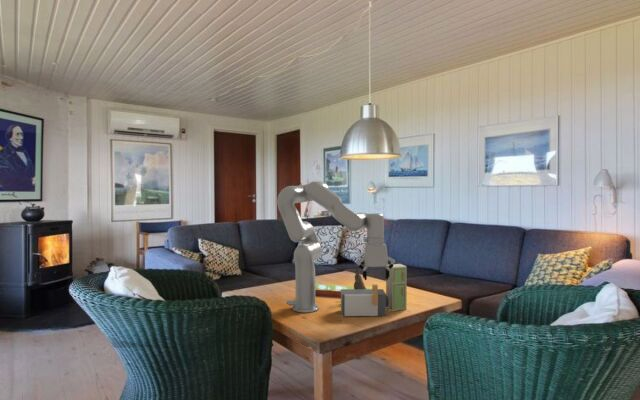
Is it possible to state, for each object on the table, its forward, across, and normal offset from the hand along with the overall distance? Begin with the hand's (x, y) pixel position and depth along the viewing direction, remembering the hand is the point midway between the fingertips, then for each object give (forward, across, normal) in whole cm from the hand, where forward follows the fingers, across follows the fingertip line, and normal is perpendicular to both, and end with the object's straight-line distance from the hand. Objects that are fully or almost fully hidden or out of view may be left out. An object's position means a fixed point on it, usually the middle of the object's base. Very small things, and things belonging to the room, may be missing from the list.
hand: (376, 279), depth 179 cm
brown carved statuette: (+18, -3, +25) cm, 31 cm away
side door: (+17, -7, +1) cm, 18 cm away
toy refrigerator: (+18, +12, +14) cm, 25 cm away
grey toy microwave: (+18, -5, +7) cm, 20 cm away
